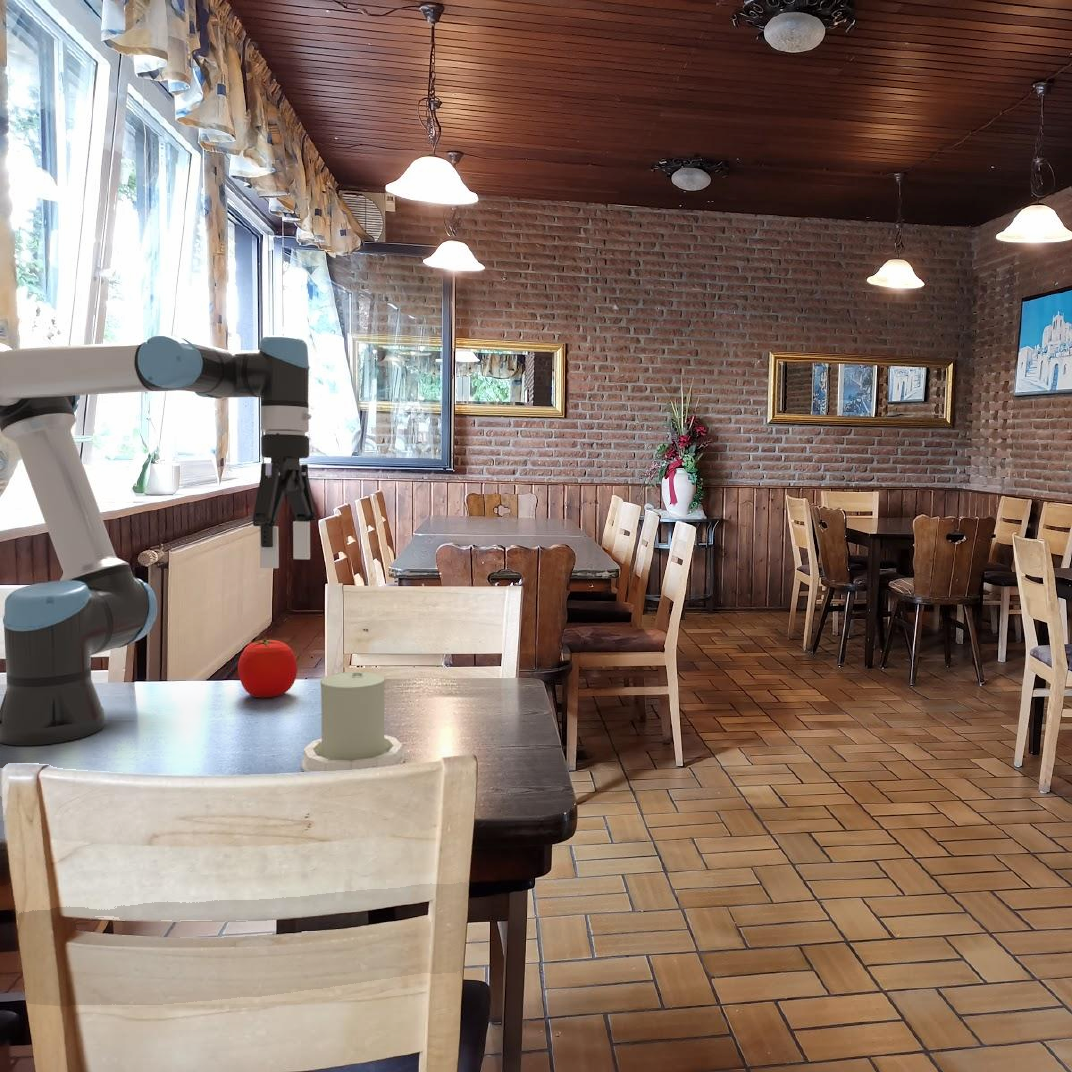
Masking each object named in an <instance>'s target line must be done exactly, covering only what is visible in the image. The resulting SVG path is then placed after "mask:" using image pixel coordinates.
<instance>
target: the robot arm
mask: <svg viewBox="0 0 1072 1072" xmlns="http://www.w3.org/2000/svg"><path fill="white" fill-rule="evenodd" d="M308 349H309V348H308V345H307V343H306V341H304V340H303V339H301V338H297V337H294V336H286V335H269V336H263V337H262V338H261V339H260V341H259V347H258V349H257V350H256V349H255V350H227V349H223V348H219V347H216V346H212V345H207V344H204V343H200V342H196V341H193V340H190V339H186V338H184V337H181V336H179V335H168V334H167V335H166V334H157V335H153V336H151V337H149V338H148V339H146V340H142V341H141V340H140V341H125V342H111V343H110V342H109V343H107V342H106V343H93V344H90V343H89V344H78V345H61V346H60V345H59V346H47V347H46V346H44V347H42V346H41V347H29V348H28V347H25V348H13V349H12V348H11V347H10V346H7V345H5V344H3V343H0V432H1V434H2V436H3V437H4V438H5V439H8V440H10V441H12V442H14V443H15V444H16V446H17V450H18V451H19V455H20V457H21V460H22V463H23V465H24V468H25V471H26V474H27V476H28V479H29V482H30V484H31V487H32V490H33V492H34V495H35V499H36V501H37V504H38V506H39V509H40V512H41V515H42V518H43V520H44V522H45V526H46V528H47V532H48V535H49V537H50V539H51V542H52V545H53V548H54V551H55V552H56V557H57V559H58V561H59V565H60V567H61V570H62V576H61V577H60V579H59V580H51V581H47V582H39V583H38V582H37V583H34V584H30V585H25V586H22V587H20V588H17V589H15V590H14V591H11V592H10V593H9V594H8V595H7V597H6V599H5V601H4V615H3V618H2V623H3V628H4V629H3V633H4V649H5V650H4V653H5V671H6V689H5V693H4V696H3V698H2V699H3V700H2V702H1V705H0V744H5V745H10V746H41V745H42V746H43V745H51V744H58V743H59V744H60V743H64V742H68V741H73V740H77V739H81V738H84V737H87V736H92V735H93V734H96V733H97V732H99V731H100V730H102V729H103V728H104V727H105V724H106V723H105V719H106V717H105V710H104V707H103V705H102V703H101V700H100V698H99V695H98V693H97V690H96V688H95V685H94V683H93V680H92V657H91V656H94V655H97V654H100V653H104V652H108V651H110V650H113V649H119V648H120V649H121V648H123V647H124V648H125V646H129V645H131V644H132V643H135V642H137V641H140V640H141V639H143V638H144V637H145V636H147V634H148V633H149V632H150V631H151V629H152V627H153V626H154V623H155V622H156V619H157V615H158V601H157V597H156V595H155V592H154V590H153V589H152V587H151V586H150V585H149V584H148V583H147V582H145V581H143V580H142V579H140V578H138V577H134V574H133V571H132V568H131V566H130V563H129V562H127V561H124V560H123V559H121V558H118V557H117V555H116V552H115V550H114V547H113V544H112V542H111V539H110V537H109V533H108V531H107V528H106V526H105V522H104V519H103V517H102V514H101V512H100V508H99V506H98V503H97V500H96V498H95V497H96V496H95V495H94V493H93V489H92V486H91V484H90V481H89V477H88V475H87V473H86V471H85V470H86V469H85V466H84V464H83V461H82V459H81V456H80V453H79V450H78V447H77V445H76V442H75V439H74V436H73V434H72V428H73V427H74V425H75V423H76V422H77V417H76V415H75V413H76V411H77V410H78V407H79V403H78V401H79V400H80V399H81V396H84V395H85V396H87V395H103V394H106V395H108V394H109V395H110V394H121V393H122V394H123V393H142V392H175V391H183V392H184V391H185V392H193V393H195V395H197V396H199V397H202V398H213V399H223V398H224V399H225V398H260V431H262V432H264V434H262V436H261V438H260V439H261V440H260V441H261V442H260V443H261V444H260V445H261V446H260V447H261V450H260V451H261V453H260V454H261V457H263V458H266V459H271V460H270V462H262V463H261V464H260V465H261V466H260V477H259V478H260V479H259V485H258V489H257V493H256V500H255V505H254V510H253V515H252V525H253V527H259V568H260V569H279V568H280V567H279V566H280V564H279V563H280V561H279V560H280V558H279V557H280V556H279V554H280V553H279V551H280V549H279V548H280V547H279V546H280V544H279V542H280V541H279V526H276V525H277V520H278V517H279V514H280V511H281V508H282V505H283V502H284V500H285V496H286V495H287V498H288V501H289V504H290V506H291V510H292V512H293V516H294V518H295V521H293V522H292V531H293V533H292V536H293V538H292V540H293V545H292V546H293V549H292V551H293V558H292V559H293V560H311V522H316V511H315V505H314V501H313V500H314V499H313V496H312V489H311V485H310V480H309V466H308V464H307V463H300V460H301V459H308V458H309V457H310V437H309V436H308V435H306V433H308V432H309V431H310V430H309V426H310V424H309V420H311V419H312V415H311V413H310V410H309V406H310V405H309V376H310V375H309V374H310V373H309V372H310V371H309V370H310V366H309V351H308Z"/></svg>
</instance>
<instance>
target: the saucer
mask: <svg viewBox="0 0 1072 1072" xmlns="http://www.w3.org/2000/svg"><path fill="white" fill-rule="evenodd" d="M384 737H385V754H382V755H379V756H376V757H374V758H368V759H360V760H352V761H349V760H330V759H327V758H324V757H321V749H322V737H321V738H319V739H316V740H312V741H311V742H310V743H308V745H306V746H305V747H304V748H303V757H302V759H301V770H302V771H332V770H347V769H359V768H364V767H372V766H381V765H390V764H399V763H405V755H404V754H405V753H404V752H403V744H402V743H401V741H399V740H398V738H396V737H394V736H390V735H388V734H384Z"/></svg>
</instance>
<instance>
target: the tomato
mask: <svg viewBox="0 0 1072 1072" xmlns="http://www.w3.org/2000/svg"><path fill="white" fill-rule="evenodd" d="M239 657H240V658H239V660H238V664H237V673H238V676H239V679H240V680H239V681H240V682H241V685H242V687H243V689H244V690H245V692H247V693H248V694H249V695H250V696H252V697H256V698H274V697H278V696H281V695H284V694H285V693H287V692H288V691H289V690H290V689H291V688H292V687H293V685H294V683H295V681H296V678H297V676H298V675H297V674H298V664H297V663H298V662H297V657H296V655H295V652H294V651H293V649H292V648H291V647H290V646H289V645H288V644H286V643H285V642H282V641H279V640H276V639H275V640H274V639H266V638H263V639H261V640H255V641H252V642H251V643H249V644H248V645H247V646H246V647H244V649H243V651H242V653H241V655H240V656H239Z"/></svg>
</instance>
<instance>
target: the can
mask: <svg viewBox="0 0 1072 1072" xmlns="http://www.w3.org/2000/svg"><path fill="white" fill-rule="evenodd" d="M319 684H320V698H321V699H320V700H321V701H320V703H321V705H320V706H321V707H320V708H321V709H320V710H321V711H320V712H321V713H320V714H321V719H320V720H321V738H322V749H321V757H324V758H327V759H330V760H349V761H352V760H360V759H368V758H374V757H376V756H379V755H382V754H385V737H384V735H385V693H386V692H385V691H386V689H385V687H386V685H385V684H386V677H384V675H382V674H380V673H375V672H369V671H346V672H345V671H344V672H340V673H333V674H329V675H327V676H324V677H322V678H321V679H320V682H319Z"/></svg>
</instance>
